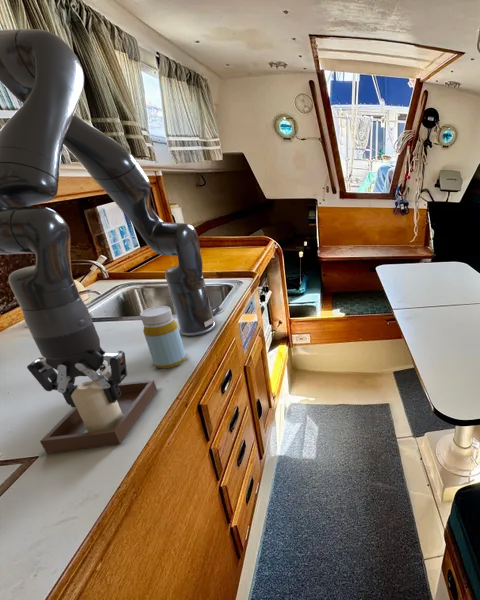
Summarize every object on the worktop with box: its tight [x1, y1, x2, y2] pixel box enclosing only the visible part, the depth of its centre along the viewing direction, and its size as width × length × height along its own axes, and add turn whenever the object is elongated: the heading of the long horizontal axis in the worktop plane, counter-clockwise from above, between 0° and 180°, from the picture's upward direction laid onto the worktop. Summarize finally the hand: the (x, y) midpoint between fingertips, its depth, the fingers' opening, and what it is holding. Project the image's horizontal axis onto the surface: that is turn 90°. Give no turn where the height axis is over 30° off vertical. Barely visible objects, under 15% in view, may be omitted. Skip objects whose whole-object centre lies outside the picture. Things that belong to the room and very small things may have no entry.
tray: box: [39, 379, 158, 454], centre depth 66 cm, size 16×12×3 cm
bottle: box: [139, 305, 187, 369], centre depth 82 cm, size 7×7×15 cm
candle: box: [71, 380, 123, 432], centre depth 63 cm, size 6×6×10 cm
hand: (96, 401), depth 62 cm, fingers closed on candle, 5 cm apart
